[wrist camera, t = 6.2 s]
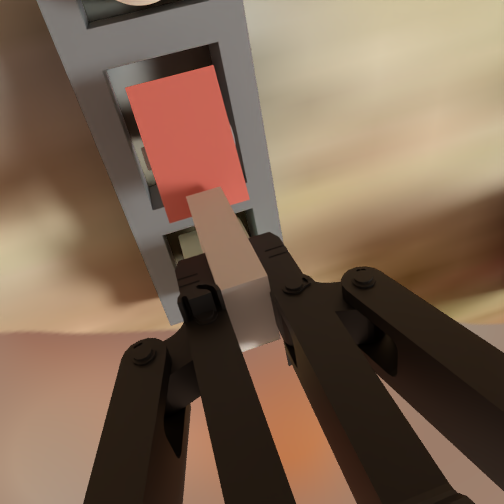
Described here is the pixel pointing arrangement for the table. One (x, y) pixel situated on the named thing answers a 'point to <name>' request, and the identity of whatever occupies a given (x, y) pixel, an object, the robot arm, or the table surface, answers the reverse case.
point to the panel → (114, 127)
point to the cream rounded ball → (138, 2)
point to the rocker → (187, 139)
